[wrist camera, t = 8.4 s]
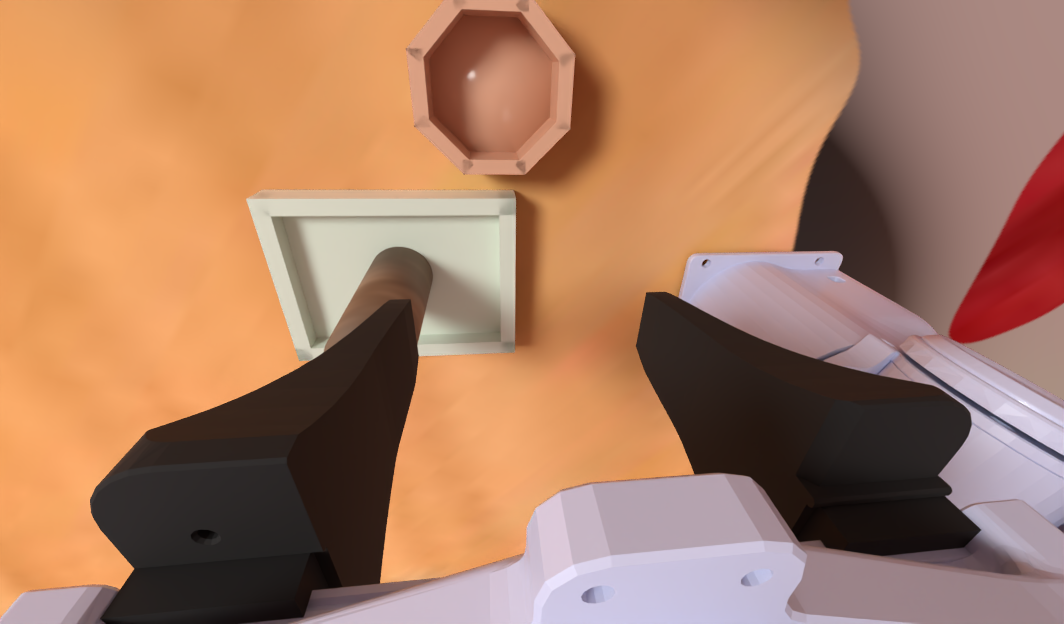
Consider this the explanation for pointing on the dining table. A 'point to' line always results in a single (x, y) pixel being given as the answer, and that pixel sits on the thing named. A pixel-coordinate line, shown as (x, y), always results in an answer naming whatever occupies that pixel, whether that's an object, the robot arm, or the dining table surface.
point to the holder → (491, 84)
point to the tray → (383, 222)
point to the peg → (388, 289)
